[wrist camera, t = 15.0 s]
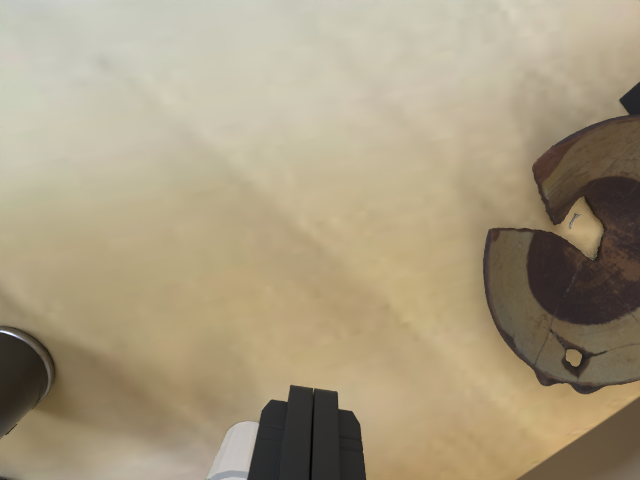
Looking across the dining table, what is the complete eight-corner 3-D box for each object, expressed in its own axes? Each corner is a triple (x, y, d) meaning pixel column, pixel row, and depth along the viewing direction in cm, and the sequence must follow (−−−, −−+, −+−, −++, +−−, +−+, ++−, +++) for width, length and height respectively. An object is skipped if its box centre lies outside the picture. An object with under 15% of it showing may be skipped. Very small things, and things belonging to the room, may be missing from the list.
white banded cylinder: (277, 413, 43) (268, 468, 36) (285, 465, 45) (278, 526, 38) (213, 418, 43) (192, 474, 36) (224, 469, 45) (206, 531, 38)
